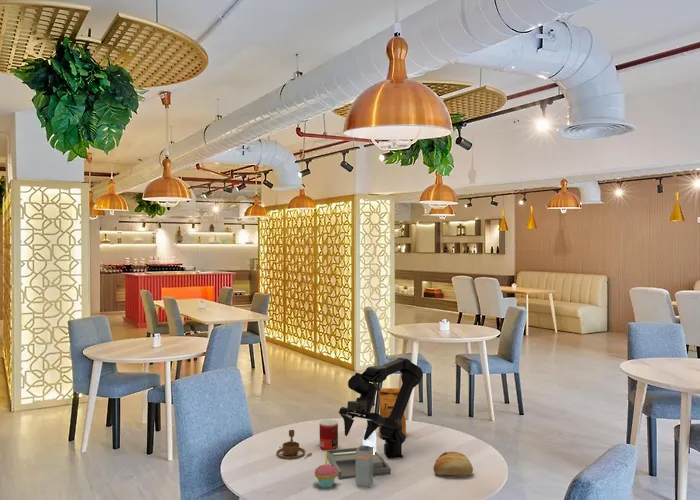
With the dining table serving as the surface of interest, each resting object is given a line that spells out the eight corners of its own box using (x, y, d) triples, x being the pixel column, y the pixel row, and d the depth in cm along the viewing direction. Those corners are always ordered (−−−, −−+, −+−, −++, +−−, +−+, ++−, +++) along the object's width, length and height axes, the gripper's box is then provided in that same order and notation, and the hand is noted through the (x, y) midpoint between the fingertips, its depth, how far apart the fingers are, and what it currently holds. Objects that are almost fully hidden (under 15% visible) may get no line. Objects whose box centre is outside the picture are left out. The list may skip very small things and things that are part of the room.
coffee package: (406, 440, 265) (406, 390, 265) (378, 439, 266) (378, 390, 266) (405, 432, 275) (405, 385, 275) (378, 432, 276) (378, 385, 276)
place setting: (264, 457, 246) (264, 443, 246) (289, 442, 264) (289, 429, 264) (301, 463, 239) (301, 449, 239) (324, 448, 257) (324, 434, 257)
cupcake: (314, 480, 220) (314, 448, 220) (337, 479, 221) (337, 447, 221) (315, 490, 212) (314, 456, 211) (338, 489, 212) (338, 456, 212)
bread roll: (431, 469, 230) (431, 449, 230) (469, 469, 231) (469, 448, 231) (435, 479, 221) (435, 458, 221) (475, 479, 221) (475, 457, 221)
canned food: (335, 451, 251) (335, 425, 251) (317, 450, 253) (317, 424, 252) (339, 445, 258) (339, 420, 258) (321, 444, 260) (321, 419, 260)
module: (360, 480, 220) (360, 444, 220) (373, 482, 218) (373, 445, 218) (355, 485, 215) (355, 448, 215) (368, 487, 213) (368, 450, 213)
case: (372, 450, 251) (372, 441, 251) (390, 474, 226) (390, 463, 226) (325, 455, 247) (325, 445, 247) (339, 479, 221) (339, 468, 221)
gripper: (337, 388, 233) (324, 427, 227) (375, 394, 222) (363, 436, 215) (352, 397, 241) (340, 435, 235) (390, 404, 229) (379, 444, 223)
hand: (355, 437), depth 227 cm, fingers open, 9 cm apart
